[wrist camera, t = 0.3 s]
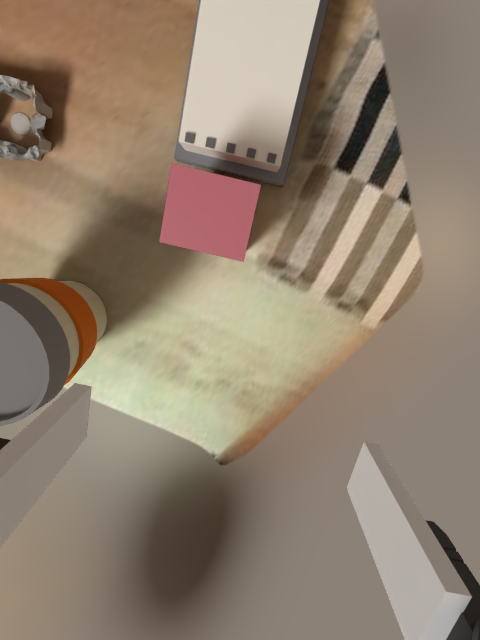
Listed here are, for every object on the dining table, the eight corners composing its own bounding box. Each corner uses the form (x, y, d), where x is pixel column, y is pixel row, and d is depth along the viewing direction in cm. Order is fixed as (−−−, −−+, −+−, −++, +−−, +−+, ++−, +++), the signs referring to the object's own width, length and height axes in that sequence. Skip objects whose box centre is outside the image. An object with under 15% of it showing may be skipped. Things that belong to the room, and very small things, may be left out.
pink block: (195, 185, 36) (171, 163, 25) (256, 199, 36) (261, 184, 25) (186, 238, 38) (159, 242, 26) (244, 252, 38) (243, 261, 26)
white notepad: (207, -26, 31) (199, -75, 26) (326, 6, 32) (341, -37, 27) (177, 161, 36) (166, 149, 31) (282, 186, 36) (288, 179, 31)
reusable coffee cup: (26, 253, 39) (-105, 267, 24) (128, 280, 40) (60, 308, 25) (18, 348, 42) (-101, 409, 28) (113, 371, 43) (45, 443, 28)
